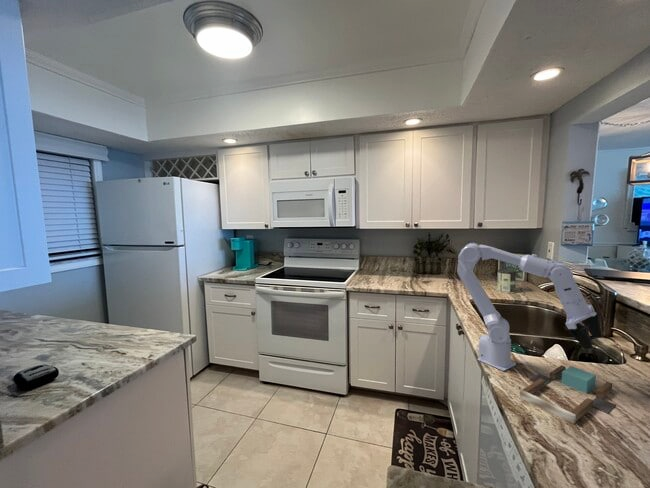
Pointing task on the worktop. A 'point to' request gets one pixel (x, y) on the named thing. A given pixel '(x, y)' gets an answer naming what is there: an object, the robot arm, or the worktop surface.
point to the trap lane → (564, 414)
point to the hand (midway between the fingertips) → (592, 342)
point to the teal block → (578, 379)
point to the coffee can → (506, 281)
